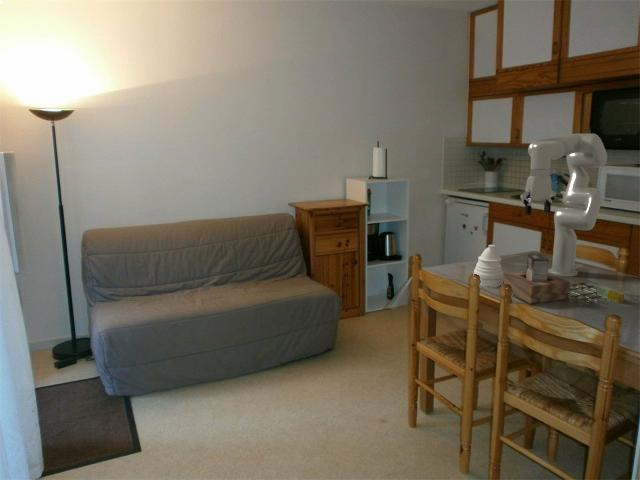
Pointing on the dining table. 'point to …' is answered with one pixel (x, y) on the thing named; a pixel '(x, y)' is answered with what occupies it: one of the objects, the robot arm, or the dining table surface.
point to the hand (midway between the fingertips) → (537, 213)
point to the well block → (538, 289)
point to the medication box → (610, 294)
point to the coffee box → (537, 268)
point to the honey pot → (489, 268)
